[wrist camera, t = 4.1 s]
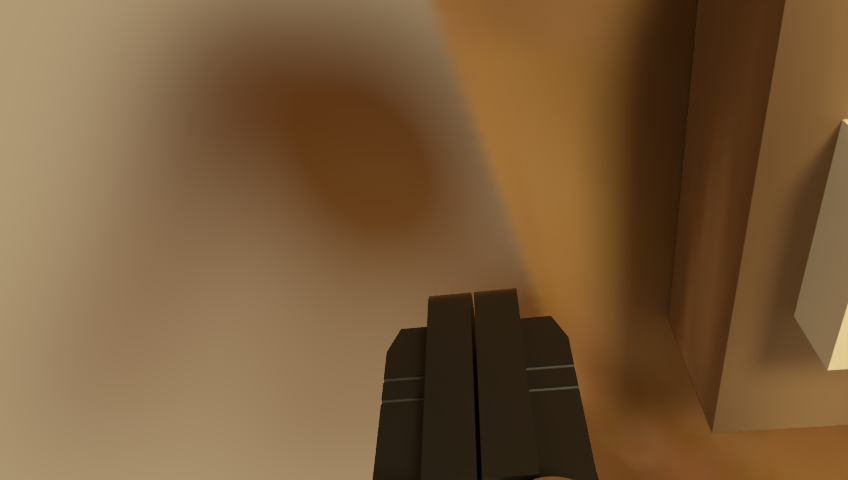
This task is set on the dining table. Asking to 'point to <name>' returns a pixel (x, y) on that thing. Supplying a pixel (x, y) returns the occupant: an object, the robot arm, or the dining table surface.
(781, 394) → the board
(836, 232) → the tile
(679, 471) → the dining table surface
